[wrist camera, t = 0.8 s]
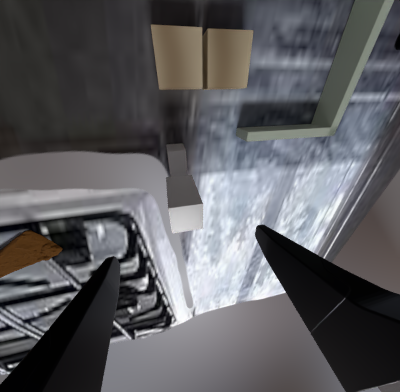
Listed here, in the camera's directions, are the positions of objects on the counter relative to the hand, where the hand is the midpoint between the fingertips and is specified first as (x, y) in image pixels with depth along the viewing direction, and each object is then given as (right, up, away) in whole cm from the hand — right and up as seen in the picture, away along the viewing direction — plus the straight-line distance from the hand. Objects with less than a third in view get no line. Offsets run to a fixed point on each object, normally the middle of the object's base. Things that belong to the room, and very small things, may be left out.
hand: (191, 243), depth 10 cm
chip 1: (-2, +16, +5) cm, 17 cm away
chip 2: (+3, +17, +6) cm, 18 cm away
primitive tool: (-30, -7, +14) cm, 34 cm away
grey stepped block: (-3, +6, +12) cm, 13 cm away
